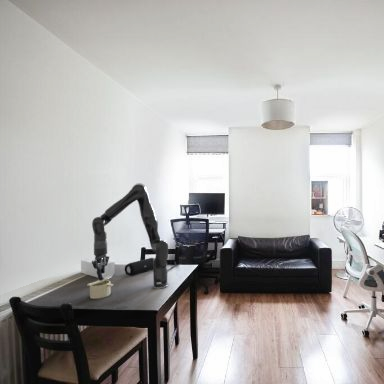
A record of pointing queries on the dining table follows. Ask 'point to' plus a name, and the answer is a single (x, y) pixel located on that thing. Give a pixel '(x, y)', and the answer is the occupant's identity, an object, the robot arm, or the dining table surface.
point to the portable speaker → (139, 266)
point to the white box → (89, 269)
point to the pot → (100, 289)
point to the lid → (101, 279)
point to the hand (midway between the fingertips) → (101, 273)
